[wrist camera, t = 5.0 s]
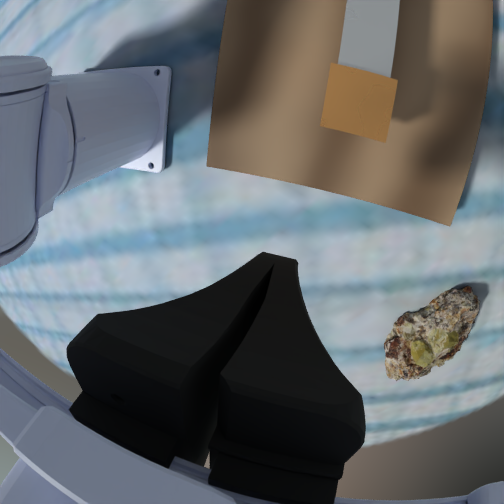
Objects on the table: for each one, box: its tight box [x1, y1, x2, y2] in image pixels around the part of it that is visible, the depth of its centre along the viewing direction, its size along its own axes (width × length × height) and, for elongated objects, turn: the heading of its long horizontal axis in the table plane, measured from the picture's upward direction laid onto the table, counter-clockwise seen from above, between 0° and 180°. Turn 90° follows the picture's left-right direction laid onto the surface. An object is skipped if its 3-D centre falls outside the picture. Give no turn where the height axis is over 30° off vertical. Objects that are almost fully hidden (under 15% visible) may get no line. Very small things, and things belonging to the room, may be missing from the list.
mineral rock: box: [384, 286, 480, 381], centre depth 21 cm, size 11×4×8 cm
